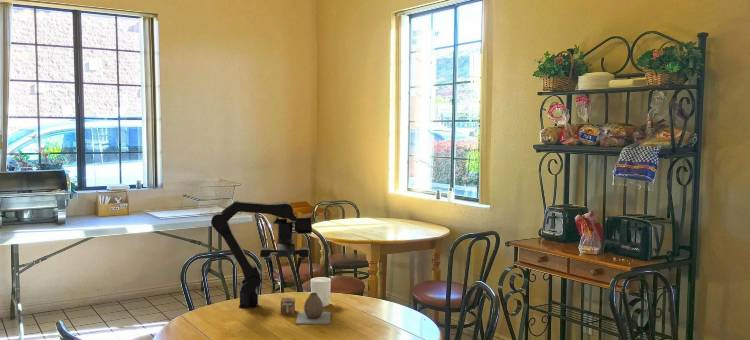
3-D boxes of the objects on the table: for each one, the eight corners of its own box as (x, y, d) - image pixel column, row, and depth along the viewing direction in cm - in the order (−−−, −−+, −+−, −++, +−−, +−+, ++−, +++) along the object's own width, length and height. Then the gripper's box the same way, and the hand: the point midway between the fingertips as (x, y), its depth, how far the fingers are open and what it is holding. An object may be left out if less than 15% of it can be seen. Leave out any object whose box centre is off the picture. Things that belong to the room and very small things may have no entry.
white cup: (321, 308, 242) (321, 283, 241) (306, 304, 246) (306, 279, 246) (334, 304, 248) (334, 279, 247) (319, 300, 253) (320, 276, 252)
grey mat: (296, 324, 223) (296, 322, 223) (298, 313, 235) (298, 312, 235) (329, 323, 224) (329, 322, 223) (330, 313, 235) (330, 312, 235)
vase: (324, 314, 232) (324, 291, 231) (321, 320, 225) (321, 296, 225) (306, 313, 233) (306, 290, 232) (302, 319, 226) (302, 295, 225)
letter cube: (280, 314, 234) (280, 301, 233) (281, 310, 239) (281, 297, 238) (294, 314, 234) (294, 301, 234) (295, 310, 239) (295, 297, 239)
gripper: (258, 238, 237) (258, 279, 238) (308, 238, 238) (308, 278, 239) (262, 233, 248) (262, 272, 249) (309, 233, 249) (309, 271, 250)
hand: (285, 273), depth 246 cm, fingers open, 9 cm apart
